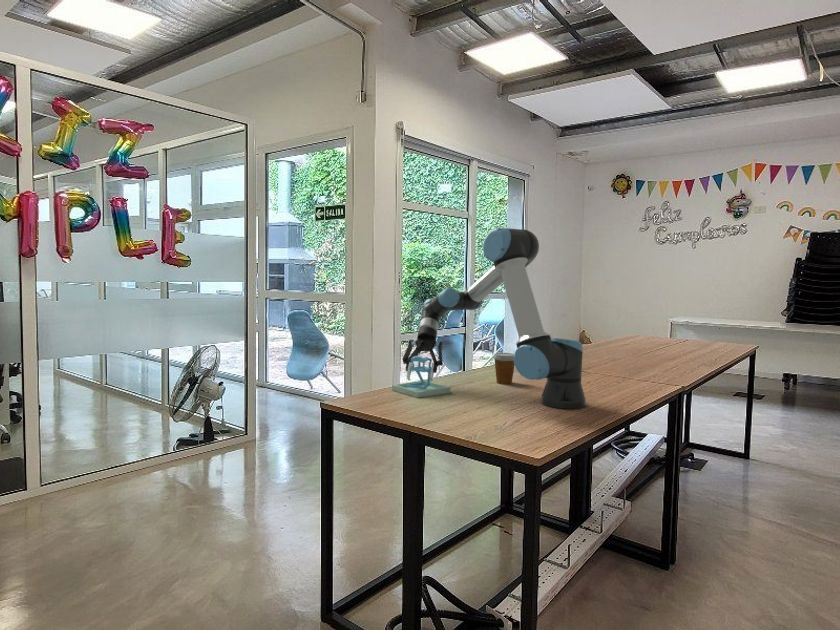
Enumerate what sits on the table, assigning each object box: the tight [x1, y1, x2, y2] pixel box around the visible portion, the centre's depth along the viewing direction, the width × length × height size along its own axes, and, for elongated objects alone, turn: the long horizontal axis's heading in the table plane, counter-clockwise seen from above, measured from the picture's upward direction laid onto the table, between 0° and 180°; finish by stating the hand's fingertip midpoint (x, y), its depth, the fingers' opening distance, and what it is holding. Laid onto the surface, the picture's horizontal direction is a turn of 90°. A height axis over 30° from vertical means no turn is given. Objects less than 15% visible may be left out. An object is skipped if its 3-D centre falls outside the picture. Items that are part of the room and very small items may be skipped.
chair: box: [407, 355, 433, 389], centre depth 212 cm, size 8×8×12 cm
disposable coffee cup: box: [492, 352, 515, 385], centre depth 231 cm, size 10×10×12 cm
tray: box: [391, 379, 452, 399], centre depth 212 cm, size 16×16×2 cm
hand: (419, 378), depth 209 cm, fingers closed on chair, 8 cm apart
